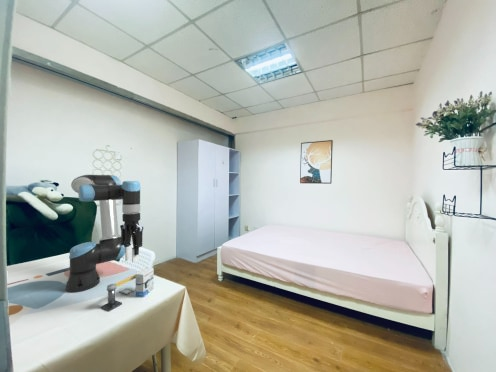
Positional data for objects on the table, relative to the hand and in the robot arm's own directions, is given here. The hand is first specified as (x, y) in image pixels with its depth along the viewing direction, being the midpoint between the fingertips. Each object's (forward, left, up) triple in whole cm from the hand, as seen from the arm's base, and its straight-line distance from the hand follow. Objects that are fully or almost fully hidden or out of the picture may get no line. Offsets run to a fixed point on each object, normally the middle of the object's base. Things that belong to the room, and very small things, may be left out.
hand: (131, 260), depth 100 cm
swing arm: (-6, +1, -13) cm, 14 cm away
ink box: (-2, +9, -21) cm, 23 cm away
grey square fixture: (-6, -6, -21) cm, 22 cm away
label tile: (-11, +5, -21) cm, 24 cm away
